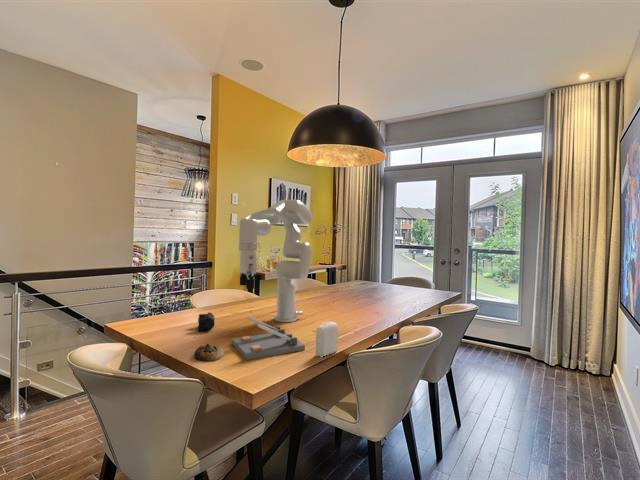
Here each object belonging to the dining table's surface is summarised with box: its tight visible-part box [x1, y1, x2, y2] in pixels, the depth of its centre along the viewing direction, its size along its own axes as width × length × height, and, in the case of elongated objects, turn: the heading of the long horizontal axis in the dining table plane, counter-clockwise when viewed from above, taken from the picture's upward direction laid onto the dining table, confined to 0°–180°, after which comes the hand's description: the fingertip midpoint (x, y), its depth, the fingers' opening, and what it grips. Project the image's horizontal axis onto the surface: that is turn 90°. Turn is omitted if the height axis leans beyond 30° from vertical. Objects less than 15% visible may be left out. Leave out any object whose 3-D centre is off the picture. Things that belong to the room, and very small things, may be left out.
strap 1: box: [247, 315, 281, 332], centre depth 143 cm, size 17×3×2 cm, turn 121°
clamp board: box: [231, 325, 306, 361], centre depth 137 cm, size 24×20×5 cm
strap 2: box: [256, 324, 293, 342], centre depth 133 cm, size 17×3×2 cm, turn 121°
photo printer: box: [315, 321, 339, 358], centre depth 132 cm, size 10×4×12 cm, turn 140°
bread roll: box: [194, 343, 225, 362], centre depth 126 cm, size 11×11×5 cm
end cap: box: [197, 312, 215, 333], centre depth 159 cm, size 10×7×7 cm
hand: (246, 286), depth 144 cm, fingers open, 9 cm apart
